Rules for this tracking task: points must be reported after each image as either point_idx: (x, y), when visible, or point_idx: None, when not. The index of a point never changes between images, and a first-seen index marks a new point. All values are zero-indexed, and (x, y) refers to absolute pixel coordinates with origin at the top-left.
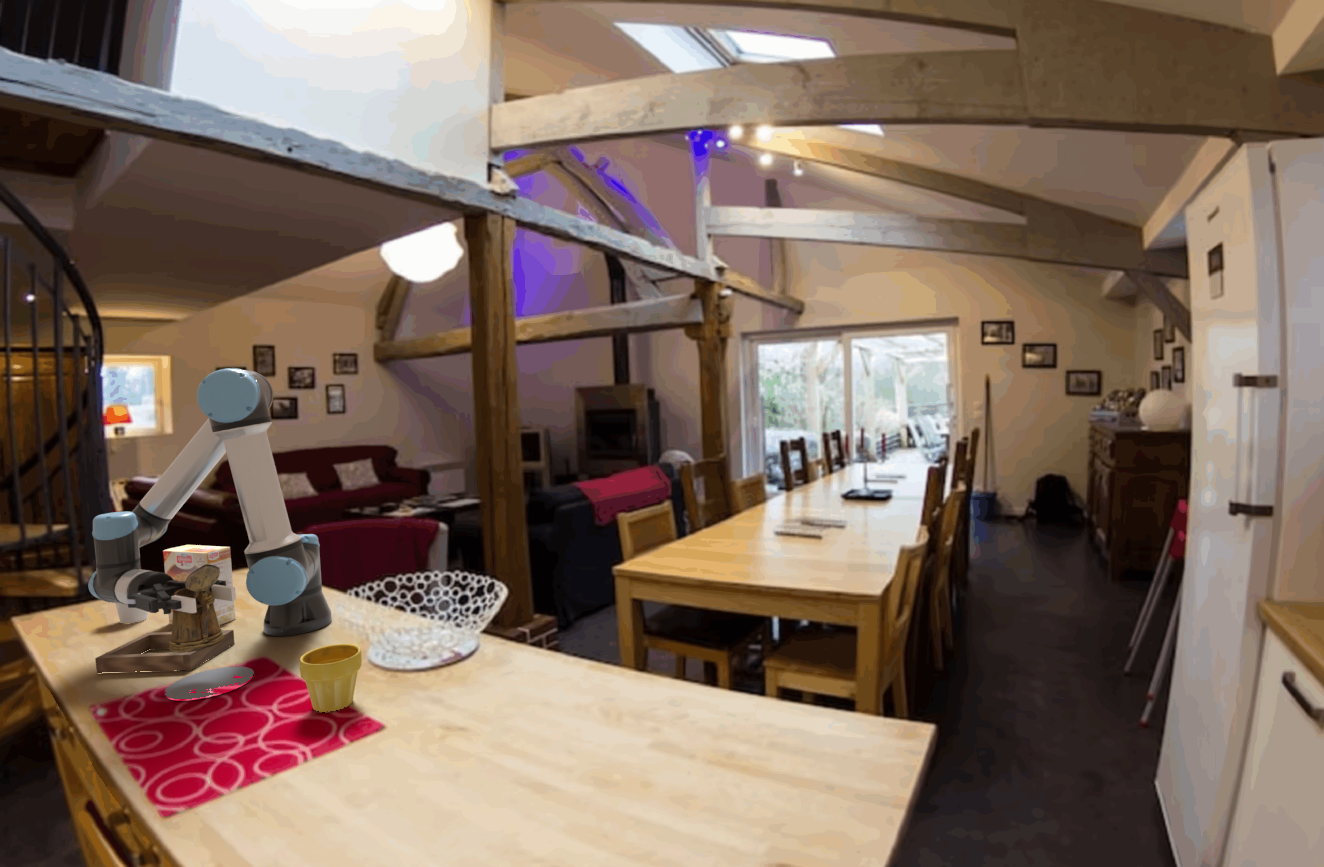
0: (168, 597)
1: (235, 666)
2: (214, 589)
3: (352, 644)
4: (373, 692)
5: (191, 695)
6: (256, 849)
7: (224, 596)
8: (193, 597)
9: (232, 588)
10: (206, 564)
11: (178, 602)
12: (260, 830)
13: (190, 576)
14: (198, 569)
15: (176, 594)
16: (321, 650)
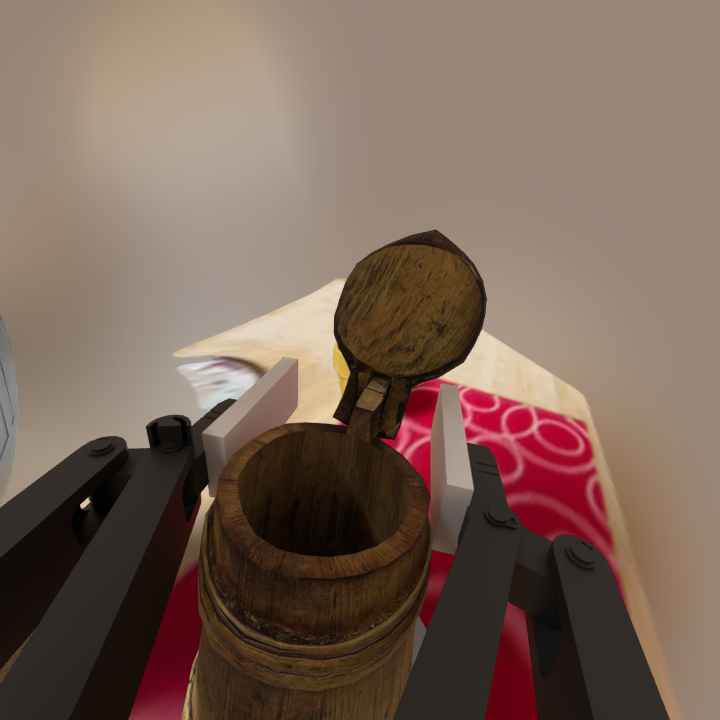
0: (488, 502)
1: (184, 705)
2: (239, 440)
3: (336, 342)
4: (329, 391)
5: (413, 646)
6: (543, 372)
7: (278, 419)
8: (394, 434)
9: (293, 361)
10: (430, 231)
11: (472, 448)
12: (534, 376)
13: (476, 287)
14: (456, 252)
15: (411, 518)
16: None
